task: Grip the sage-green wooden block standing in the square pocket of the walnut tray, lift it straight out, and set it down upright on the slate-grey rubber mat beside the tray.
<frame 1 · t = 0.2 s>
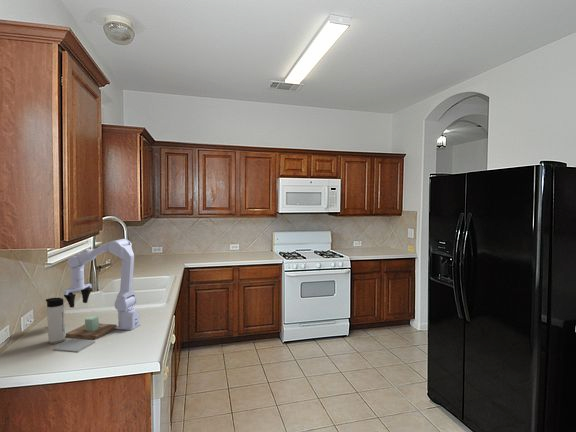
hand: (78, 304, 175), 10 cm above the countertop, tool pointing down, fingers open, 7 cm apart
rubber mat: (74, 346, 150), on the countertop
pocket tray: (92, 332, 165), on the countertop
green block: (91, 325, 165), in the pocket tray
travel mug: (56, 341, 154), on the countertop
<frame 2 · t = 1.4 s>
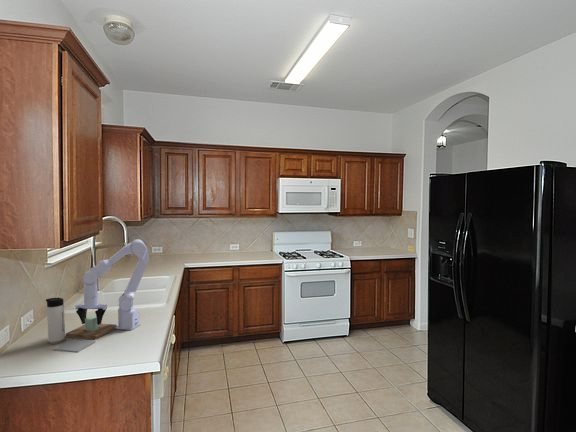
hand: (91, 323, 165), 4 cm above the countertop, tool pointing down, fingers open, 7 cm apart
nothing on the countertop moved.
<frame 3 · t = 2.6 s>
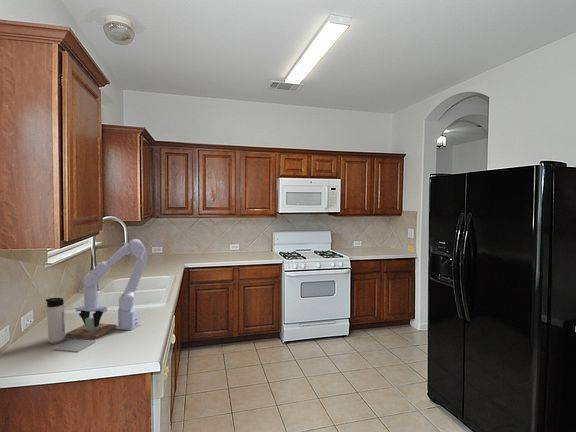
hand: (92, 326, 165), 3 cm above the countertop, tool pointing down, fingers closed on green block, 4 cm apart
green block: (91, 324, 165), in the pocket tray, touching gripper
everything else where it was.
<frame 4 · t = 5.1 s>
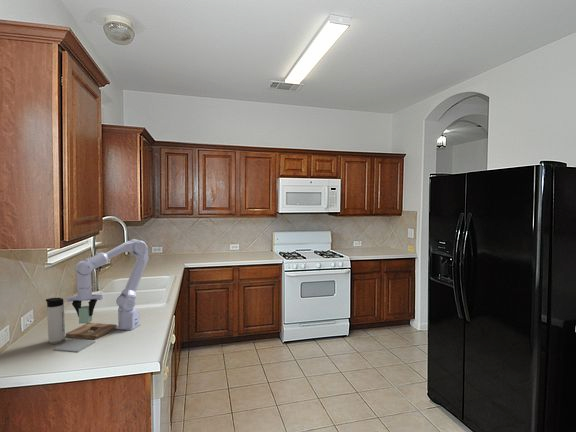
hand: (85, 315, 159), 10 cm above the countertop, tool pointing down, fingers closed on green block, 4 cm apart
green block: (85, 314, 159), point 10 cm above the countertop, touching gripper
everything else where it was.
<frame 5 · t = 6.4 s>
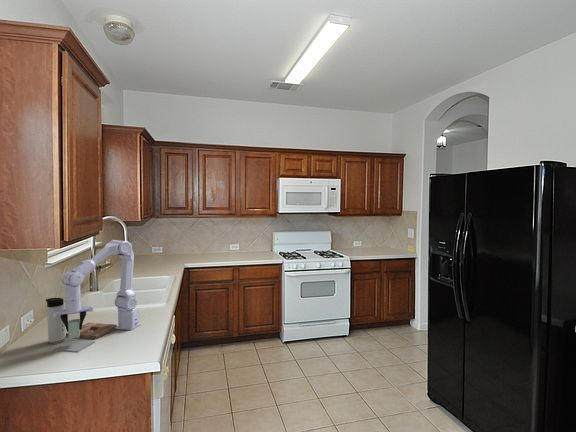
hand: (74, 329, 149), 7 cm above the countertop, tool pointing down, fingers closed on green block, 4 cm apart
green block: (74, 328, 149), point 8 cm above the countertop, touching gripper
everything else where it was.
when the fingers open (5 cm above the countertop, at t = 7.6 s): green block drops 1 cm, resting on rubber mat.
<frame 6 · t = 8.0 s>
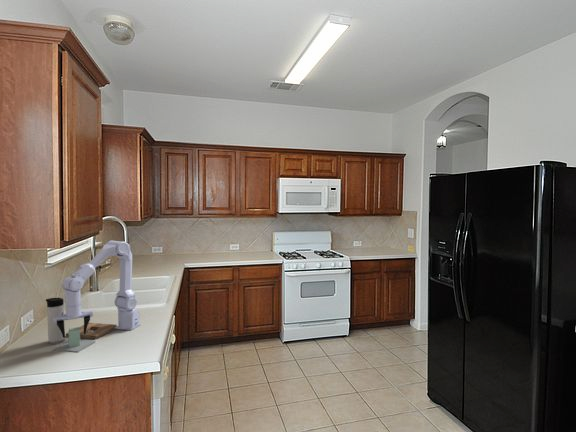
hand: (74, 335, 149), 5 cm above the countertop, tool pointing down, fingers open, 7 cm apart
green block: (74, 337, 150), on the rubber mat
everything else where it was.
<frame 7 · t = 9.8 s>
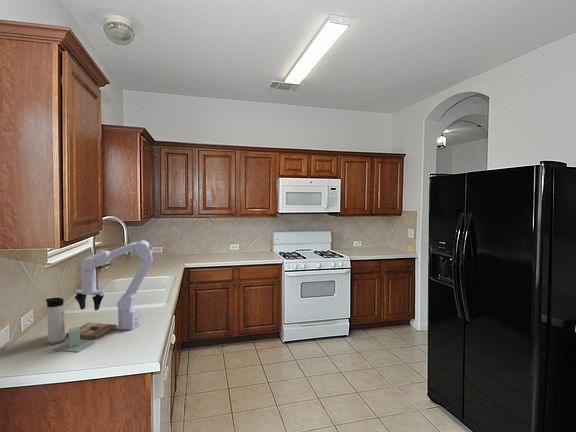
hand: (89, 309, 167), 10 cm above the countertop, tool pointing down, fingers open, 7 cm apart
nothing on the countertop moved.
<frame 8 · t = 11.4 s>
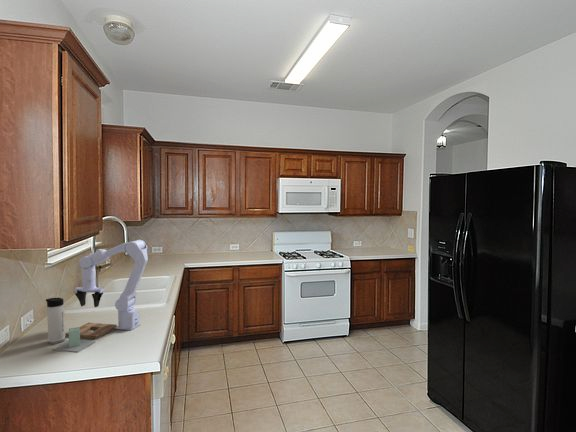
hand: (89, 306, 171), 10 cm above the countertop, tool pointing down, fingers open, 7 cm apart
nothing on the countertop moved.
at the end: green block inside the target area on the rubber mat (0.1 cm from its centre), point 4.0 cm above the rubber mat's base; green block tilted 0°; the gripper is holding nothing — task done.
